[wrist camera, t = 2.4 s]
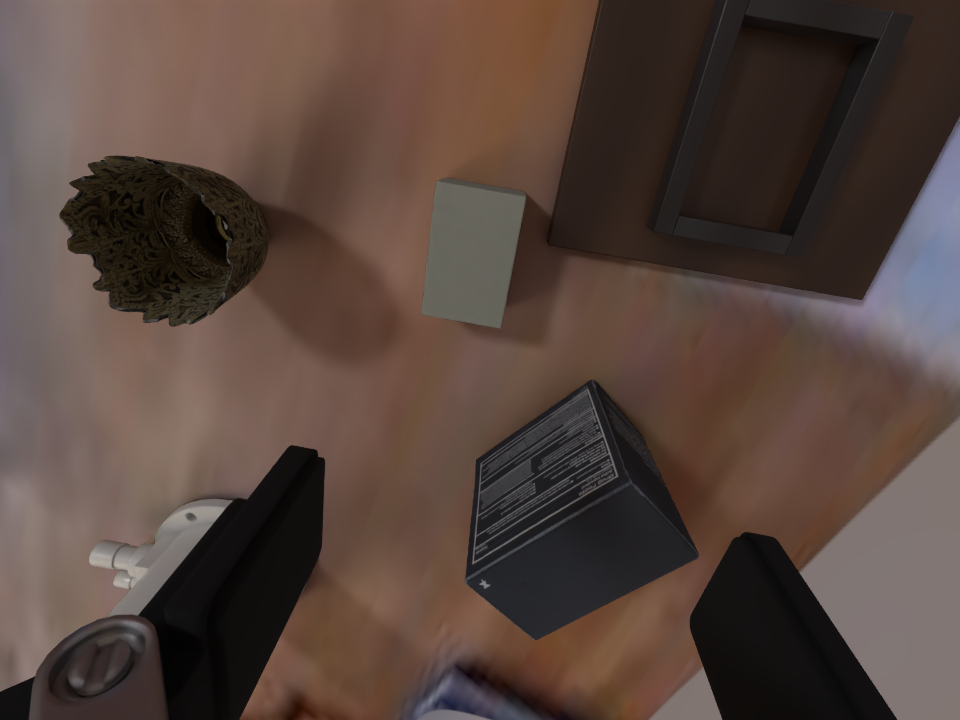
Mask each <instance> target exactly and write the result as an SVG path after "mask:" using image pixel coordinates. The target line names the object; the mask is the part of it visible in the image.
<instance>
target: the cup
mask: <svg viewBox="0 0 960 720" xmlns="http://www.w3.org/2000/svg"><path fill="white" fill-rule="evenodd" d="M104 159H105V160H101V161H100V162H93V163H89V164H88V167H89V168H90V169H91V171H92V172H93V173H94V175H91V176H83V177H81V178H79V179H77V180H74V181H72V182H70V183H69V184H70V185H71V186H73V187H74V188H76V189H78V190H79V192H78V194H77V195H76V196H75V197H74V198H71V199H69V200H68V202H67V203H66V205H65V206H64V208H63V209H62V211H61V212H60V219H61V221H62V222H63V223H64V224H65V225H66V226H67V227H68V230H69V231H70V232H71V234H72V236H71V237H70V238H69V239H68V240H67V244H68V249H69V250H70V251H71V252H73V253H75V254H88V255H89V254H91V255H92V256H91V255H90V256H91V257H92V259H93V261H94V263H93V266H94V267H95V268H96V269H97V270H99V271H100V273H102V275H101V276H100V279H99V280H98V281H96V282H94V283H93V287H94V289H96V290H98V291H110V293H109V302H108V304H109V306H110V307H111V308H113V309H116V310H118V311H124V312H142V313H144V314H143V321H142V322H143V323H151V322H158V321H160V320H162V319H165V318H168V319H169V325H170V326H171V327H173V326H178V325H181V324H183V323H188V324H189V325H190V324H193V323H196V322H198V321H199V320H201V319H203V318H204V317H206V316H207V315H211V314H212V313H214V312H215V311H216V310H217V309H218V308H219V307H220V306H221V305H223V304H224V303H225V302H227V301H228V300H229V299H230V298H232V297H233V296H234V295H236V294H237V293H238V292H239V291H241V290H242V289H243V288H244V287H245V286H246V285H248V284H249V283H250V281H251V280H252V279H253V278H254V277H255V276H256V275H257V273H258V272H259V271H260V269H261V267H262V265H263V264H264V261H265V258H266V255H267V250H268V227H267V221H266V218H265V216H264V214H263V212H262V211H261V209H260V208H259V207H258V206H257V205H256V203H255V202H254V200H253V199H252V198H251V197H250V196H249V195H248V194H247V193H246V192H245V191H244V190H243V189H242V188H241V187H240V186H238V185H237V184H236V183H234V182H233V181H232V180H230V179H228V178H226V177H225V176H222V175H220V174H218V173H215V172H213V171H210V170H207V169H204V168H200V167H196V166H191V165H186V164H180V163H174V162H168V161H161V160H154V159H147V158H144V157H138V156H135V157H128V156H106V157H104Z"/></svg>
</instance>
